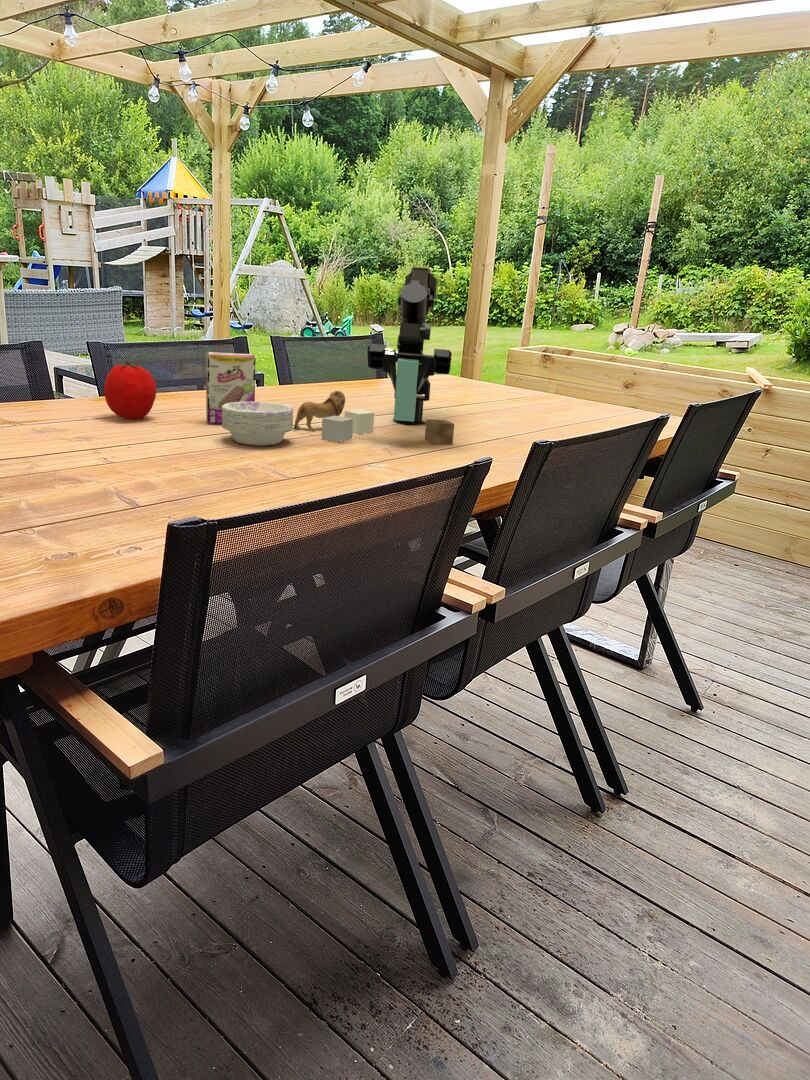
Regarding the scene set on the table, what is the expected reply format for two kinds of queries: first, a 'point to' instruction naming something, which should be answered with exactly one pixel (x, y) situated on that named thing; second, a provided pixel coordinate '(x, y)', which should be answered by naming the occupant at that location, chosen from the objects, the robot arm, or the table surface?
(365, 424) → the off-white cube
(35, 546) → the table surface
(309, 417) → the lion figurine
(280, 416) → the paper bowls
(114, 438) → the table surface
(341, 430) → the grey cube
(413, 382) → the green block
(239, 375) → the candy bar box
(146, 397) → the tomato
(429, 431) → the walnut cube
